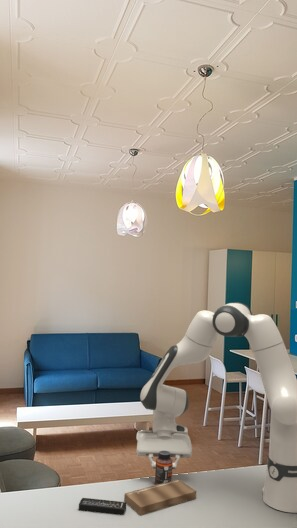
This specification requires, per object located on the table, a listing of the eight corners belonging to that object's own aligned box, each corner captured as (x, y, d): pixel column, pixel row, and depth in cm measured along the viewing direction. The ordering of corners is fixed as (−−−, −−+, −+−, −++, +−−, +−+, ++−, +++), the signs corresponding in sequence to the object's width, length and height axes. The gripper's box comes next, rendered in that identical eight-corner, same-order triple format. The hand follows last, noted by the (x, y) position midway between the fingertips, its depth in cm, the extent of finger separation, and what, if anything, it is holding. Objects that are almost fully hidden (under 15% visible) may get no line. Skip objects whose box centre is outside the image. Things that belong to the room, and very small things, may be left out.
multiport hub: (82, 504, 145) (82, 497, 145) (126, 509, 143) (126, 502, 143) (78, 511, 141) (78, 504, 141) (123, 516, 139) (124, 509, 139)
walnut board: (178, 486, 159) (178, 478, 159) (196, 498, 151) (196, 490, 151) (124, 501, 147) (124, 493, 148) (140, 515, 139) (140, 507, 139)
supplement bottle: (170, 489, 157) (171, 456, 157) (153, 487, 158) (154, 454, 158) (172, 481, 163) (174, 450, 163) (156, 479, 164) (157, 448, 164)
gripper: (136, 425, 168) (134, 463, 158) (191, 428, 168) (193, 465, 158) (136, 433, 172) (134, 470, 162) (190, 435, 172) (191, 473, 162)
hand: (164, 468), depth 160 cm, fingers closed on supplement bottle, 6 cm apart
